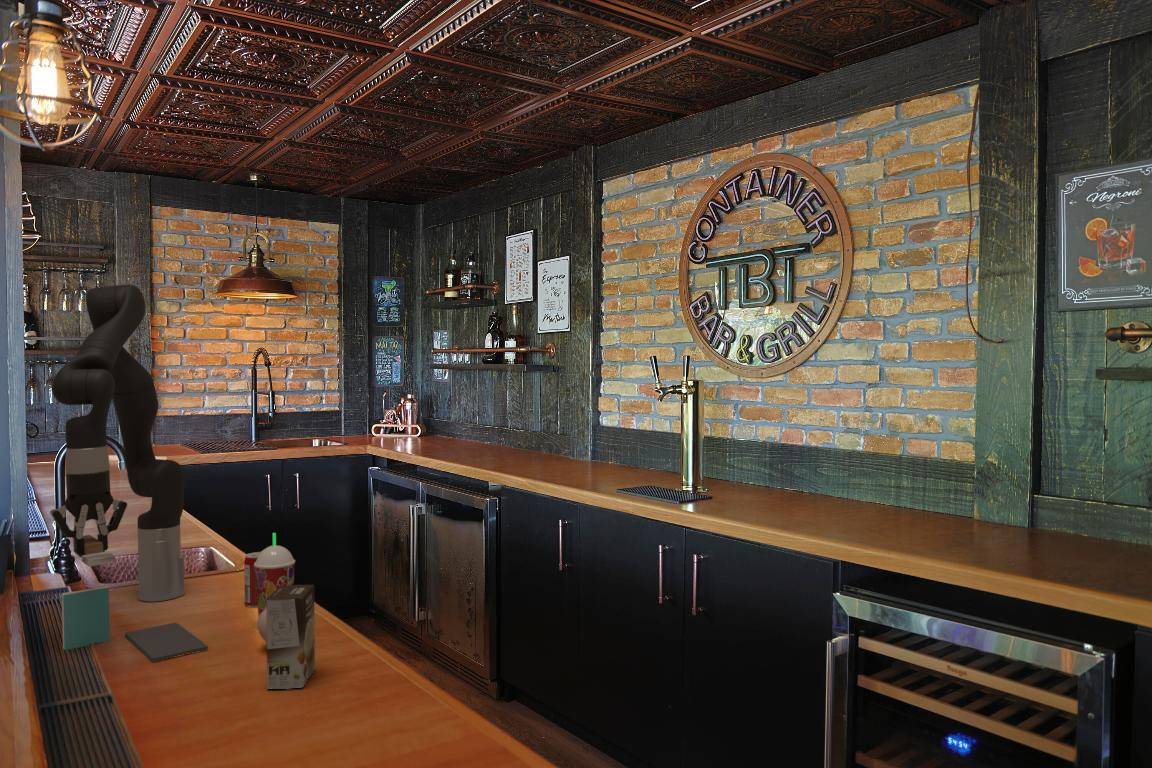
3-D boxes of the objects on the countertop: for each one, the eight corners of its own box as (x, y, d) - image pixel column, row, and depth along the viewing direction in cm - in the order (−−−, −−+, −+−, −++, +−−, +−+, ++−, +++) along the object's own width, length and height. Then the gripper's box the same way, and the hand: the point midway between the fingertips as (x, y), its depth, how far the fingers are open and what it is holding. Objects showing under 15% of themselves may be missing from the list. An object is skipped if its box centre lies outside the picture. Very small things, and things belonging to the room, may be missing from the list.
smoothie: (304, 621, 182) (302, 530, 182) (278, 633, 174) (277, 538, 174) (272, 617, 185) (271, 528, 184) (246, 629, 177) (244, 535, 176)
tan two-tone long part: (69, 552, 171) (68, 538, 171) (94, 548, 174) (93, 534, 174) (88, 566, 160) (88, 551, 160) (115, 561, 163) (114, 546, 163)
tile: (107, 639, 171) (106, 586, 171) (109, 641, 170) (108, 587, 170) (63, 648, 166) (61, 593, 166) (64, 650, 165) (63, 595, 164)
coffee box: (304, 689, 145) (302, 598, 144) (266, 691, 144) (264, 599, 144) (316, 670, 154) (314, 583, 154) (280, 671, 154) (279, 584, 153)
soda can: (275, 602, 196) (274, 552, 196) (257, 609, 191) (256, 557, 191) (257, 599, 199) (256, 549, 198) (239, 606, 194) (238, 554, 193)
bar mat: (176, 626, 179) (176, 622, 179) (207, 650, 165) (207, 646, 165) (125, 636, 173) (125, 632, 173) (153, 662, 158) (153, 658, 158)
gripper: (121, 463, 174) (124, 545, 175) (42, 471, 164) (46, 558, 165) (132, 467, 168) (135, 551, 169) (51, 475, 159) (55, 565, 160)
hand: (91, 554), depth 167 cm, fingers closed on tan two-tone long part, 3 cm apart
